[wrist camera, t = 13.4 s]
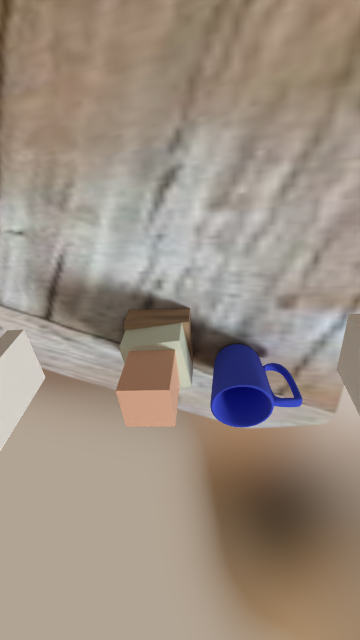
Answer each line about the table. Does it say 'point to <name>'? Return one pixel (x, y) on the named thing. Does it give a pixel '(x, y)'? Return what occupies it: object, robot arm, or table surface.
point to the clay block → (149, 388)
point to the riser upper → (161, 346)
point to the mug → (246, 388)
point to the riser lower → (161, 321)
